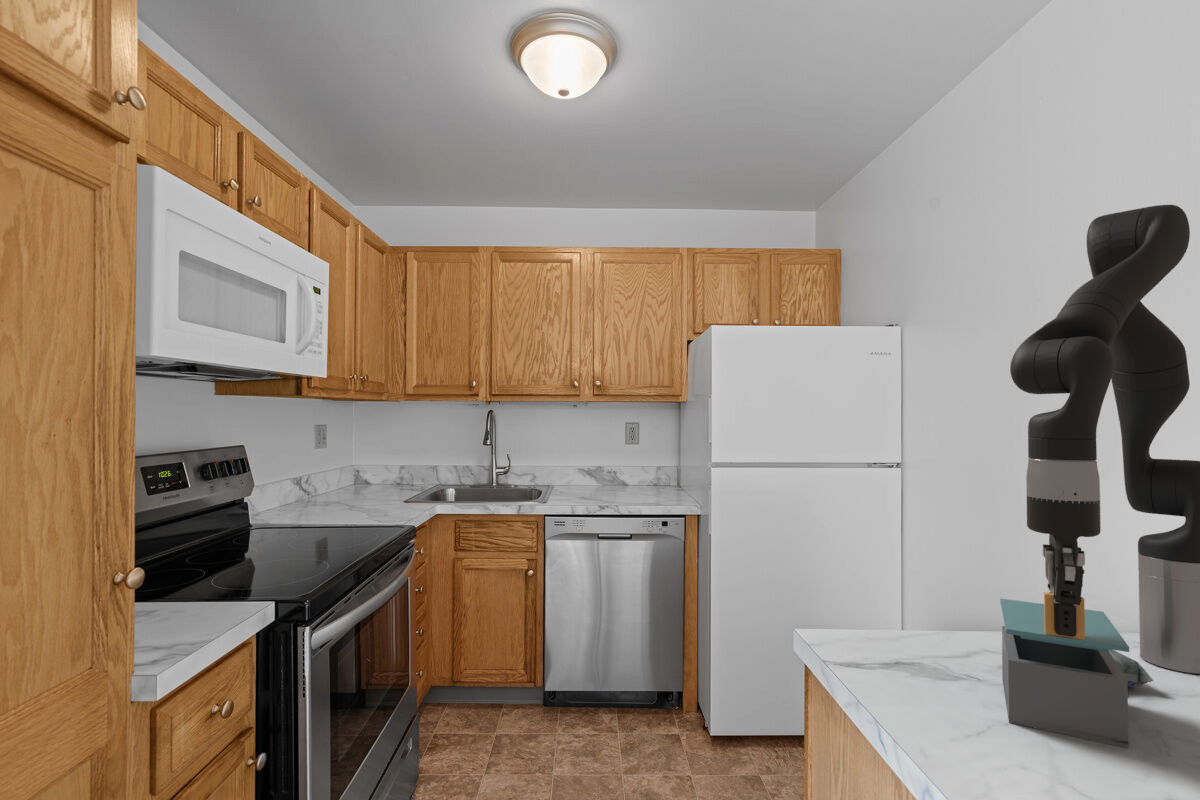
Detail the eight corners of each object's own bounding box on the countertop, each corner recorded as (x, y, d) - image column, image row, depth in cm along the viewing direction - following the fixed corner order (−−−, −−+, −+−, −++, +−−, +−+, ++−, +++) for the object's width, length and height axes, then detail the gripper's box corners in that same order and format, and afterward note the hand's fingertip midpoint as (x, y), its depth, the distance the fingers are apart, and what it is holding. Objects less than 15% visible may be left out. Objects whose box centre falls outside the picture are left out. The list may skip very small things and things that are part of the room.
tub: (1002, 679, 95) (1002, 626, 95) (1103, 697, 89) (1102, 640, 89) (1008, 722, 81) (1008, 659, 81) (1128, 747, 75) (1127, 680, 75)
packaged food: (1092, 694, 90) (1092, 659, 90) (1039, 662, 102) (1039, 632, 102) (1155, 697, 90) (1155, 662, 90) (1094, 665, 102) (1094, 634, 102)
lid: (1000, 607, 95) (999, 565, 96) (1103, 621, 89) (1102, 576, 89) (1006, 639, 81) (1005, 590, 81) (1129, 658, 75) (1128, 605, 75)
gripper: (1110, 503, 72) (1113, 656, 71) (1090, 492, 83) (1092, 623, 83) (1031, 498, 75) (1033, 643, 75) (1022, 488, 87) (1024, 614, 87)
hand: (1064, 632), depth 79 cm, fingers closed on lid, 1 cm apart
